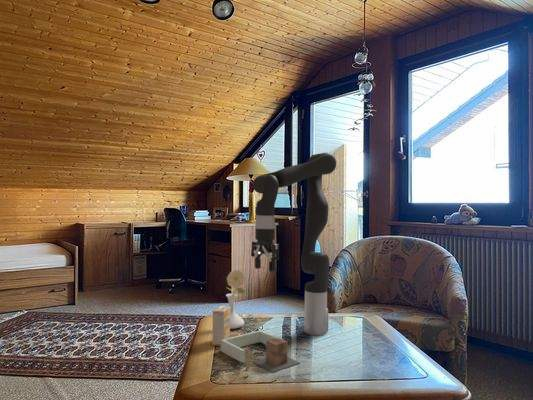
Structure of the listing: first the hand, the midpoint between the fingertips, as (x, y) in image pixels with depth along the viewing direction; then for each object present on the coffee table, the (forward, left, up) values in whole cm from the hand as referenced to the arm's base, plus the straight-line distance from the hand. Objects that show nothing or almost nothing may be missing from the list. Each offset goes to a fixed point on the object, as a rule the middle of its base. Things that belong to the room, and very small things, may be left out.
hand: (264, 269), depth 152 cm
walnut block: (+8, +17, -28) cm, 34 cm away
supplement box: (+12, -11, -28) cm, 33 cm away
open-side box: (+8, +3, -28) cm, 29 cm away
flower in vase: (-2, -24, -28) cm, 37 cm away
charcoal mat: (+8, +17, -28) cm, 34 cm away
